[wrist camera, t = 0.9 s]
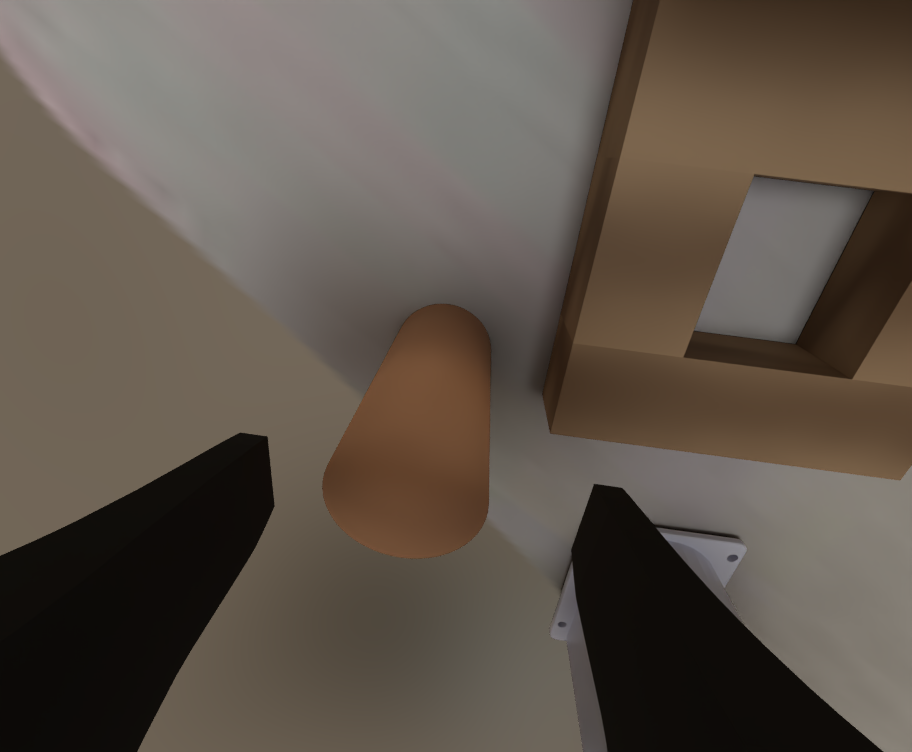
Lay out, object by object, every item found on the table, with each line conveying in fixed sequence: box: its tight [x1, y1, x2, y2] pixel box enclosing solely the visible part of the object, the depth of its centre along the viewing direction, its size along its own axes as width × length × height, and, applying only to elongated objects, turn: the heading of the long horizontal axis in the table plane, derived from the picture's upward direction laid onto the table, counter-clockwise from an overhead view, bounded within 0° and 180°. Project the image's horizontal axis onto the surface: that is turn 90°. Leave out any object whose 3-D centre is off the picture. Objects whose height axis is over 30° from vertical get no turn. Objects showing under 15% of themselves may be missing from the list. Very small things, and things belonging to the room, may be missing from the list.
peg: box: [322, 304, 491, 559], centre depth 14 cm, size 4×4×9 cm
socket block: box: [542, 0, 912, 480], centre depth 11 cm, size 16×13×10 cm
